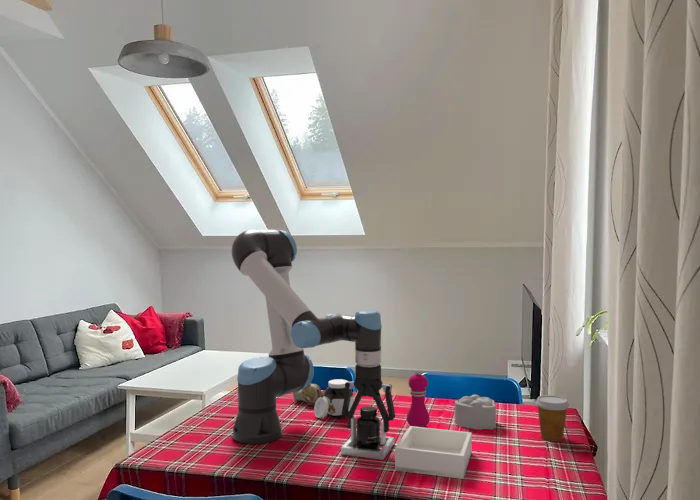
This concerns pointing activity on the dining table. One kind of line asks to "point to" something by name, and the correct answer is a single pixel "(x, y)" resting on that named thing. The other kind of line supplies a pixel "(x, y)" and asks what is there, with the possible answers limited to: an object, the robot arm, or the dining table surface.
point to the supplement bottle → (368, 429)
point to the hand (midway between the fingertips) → (368, 441)
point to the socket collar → (368, 453)
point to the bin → (434, 452)
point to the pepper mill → (418, 401)
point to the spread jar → (332, 400)
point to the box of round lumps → (475, 412)
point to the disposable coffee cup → (552, 416)
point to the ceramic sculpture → (309, 394)
